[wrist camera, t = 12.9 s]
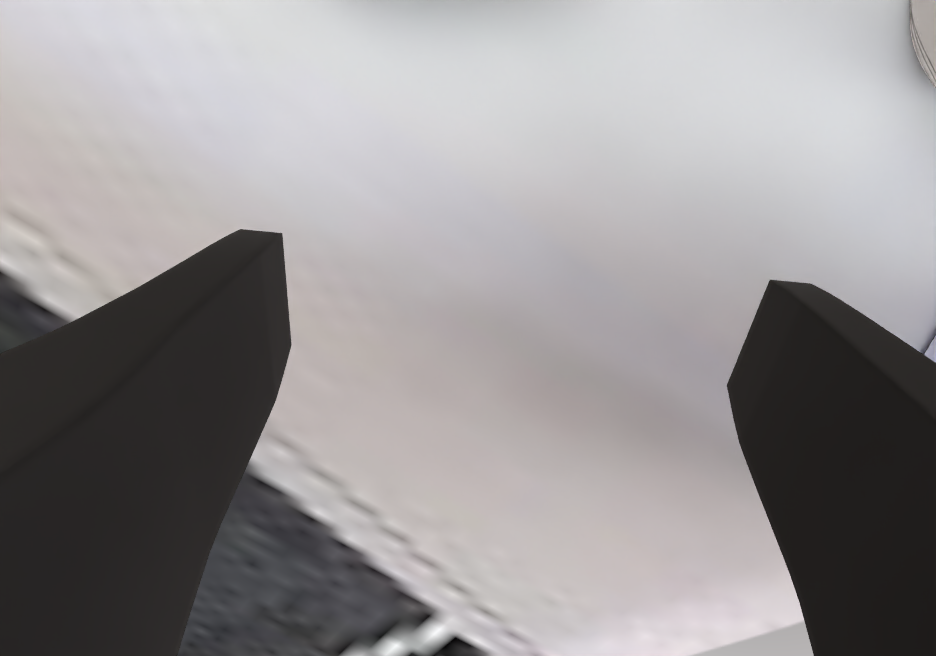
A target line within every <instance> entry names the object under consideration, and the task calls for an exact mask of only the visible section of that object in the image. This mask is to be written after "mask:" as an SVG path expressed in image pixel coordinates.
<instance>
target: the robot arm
mask: <svg viewBox="0 0 936 656" xmlns="http://www.w3.org/2000/svg"><path fill="white" fill-rule="evenodd" d="M290 348H291V335H290V322H289V310H288V298H287V286H286V273H285V261H284V249H283V237H282V233H274V232H264V231H253V230H243V229H240V230H238V231H236V232H234V233H232V234H230V235H228V236H226V237H224V238H222V239H220V240H219V241H217V242H215V243H213V244H212V245H210V246H208V247H206V248H205V249H203V250H201V251H200V252H198V253H196V254H195V255H193V256H191V257H189V258H188V259H186V260H184V261H183V262H181V263H179V264H178V265H176V266H174V267H172V268H171V269H169V270H167V271H166V272H164V273H162V274H160V275H159V276H157V277H155V278H153V279H152V280H150V281H148V282H147V283H145V284H143V285H141V286H140V287H138V288H136V289H134V290H132V291H130V292H128V293H126V294H125V295H123V296H121V297H119V298H117V299H115V300H113V301H111V302H109V303H107V304H105V305H104V306H102V307H100V308H98V309H96V310H94V311H92V312H90V313H88V314H86V315H84V316H83V317H81V318H79V319H77V320H75V321H73V322H71V323H69V324H67V325H64V326H62V327H60V328H58V329H56V330H54V331H52V332H49V333H47V334H45V335H43V336H41V337H38V338H36V339H34V340H31V341H29V342H27V343H24V344H22V345H19V346H17V347H15V348H12V349H10V350H8V351H5V352H3V353H0V656H177V655H178V651H179V648H180V645H181V641H182V638H183V635H184V631H185V628H186V625H187V621H188V618H189V615H190V612H191V609H192V606H193V603H194V599H195V596H196V593H197V590H198V587H199V584H200V581H201V578H202V575H203V572H204V568H205V565H206V562H207V559H208V556H209V553H210V550H211V548H212V545H213V543H214V540H215V538H216V535H217V533H218V530H219V528H220V525H221V523H222V520H223V518H224V516H225V514H226V511H227V509H228V507H229V505H230V503H231V500H232V498H233V496H234V494H235V491H236V489H237V487H238V485H239V482H240V480H241V478H242V476H243V474H244V471H245V469H246V467H247V465H248V462H249V460H250V458H251V456H252V453H253V451H254V449H255V447H256V445H257V442H258V440H259V438H260V435H261V433H262V431H263V429H264V426H265V424H266V422H267V419H268V417H269V415H270V413H271V410H272V408H273V406H274V403H275V401H276V398H277V394H278V391H279V388H280V384H281V381H282V378H283V374H284V370H285V367H286V363H287V359H288V356H289V352H290ZM727 388H728V393H729V398H730V403H731V408H732V414H733V418H734V422H735V427H736V431H737V435H738V439H739V443H740V446H741V449H742V451H743V454H744V457H745V459H746V462H747V465H748V467H749V470H750V473H751V475H752V478H753V481H754V483H755V486H756V488H757V491H758V494H759V496H760V499H761V501H762V504H763V506H764V509H765V511H766V514H767V517H768V519H769V522H770V524H771V527H772V529H773V532H774V534H775V537H776V540H777V542H778V545H779V547H780V550H781V552H782V555H783V557H784V560H785V563H786V565H787V568H788V570H789V573H790V576H791V579H792V582H793V585H794V587H795V590H796V593H797V596H798V599H799V602H800V606H801V609H802V613H803V617H804V620H805V624H806V628H807V632H808V635H809V639H810V642H811V646H812V650H813V654H814V656H936V336H935V337H934V339H933V341H932V342H931V344H930V346H929V347H928V349H927V350H926V352H925V354H924V355H923V354H922V353H920V352H919V351H917V350H916V349H914V348H913V347H911V346H910V345H908V344H907V343H905V342H904V341H902V340H901V339H899V338H898V337H896V336H895V335H893V334H892V333H890V332H889V331H887V330H886V329H884V328H883V327H881V326H880V325H878V324H877V323H875V322H874V321H872V320H871V319H869V318H868V317H866V316H865V315H863V314H862V313H860V312H859V311H857V310H856V309H854V308H852V307H851V306H849V305H848V304H846V303H845V302H843V301H841V300H840V299H838V298H836V297H835V296H833V295H831V294H830V293H828V292H826V291H824V290H822V289H820V288H818V287H816V286H814V285H812V284H808V283H798V282H787V281H777V280H770V281H769V283H768V286H767V288H766V290H765V293H764V295H763V298H762V300H761V303H760V305H759V308H758V310H757V313H756V315H755V318H754V320H753V322H752V325H751V327H750V330H749V332H748V335H747V337H746V340H745V342H744V345H743V347H742V349H741V352H740V354H739V357H738V359H737V362H736V364H735V367H734V369H733V372H732V374H731V376H730V379H729V381H728V384H727Z"/></svg>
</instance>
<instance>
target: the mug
mask: <svg viewBox="0 0 936 656" xmlns="http://www.w3.org/2000/svg"><path fill="white" fill-rule="evenodd" d="M910 31H911V37H912V42H913V46H914V49H915V52H916V55H917V57H918V60H919V62H920V64H921V66H922V68H923V70H924V72H925V73H926V75H927V76H928V78H929V79H930V81H931V83H932V84H933V85H934V87H935V88H936V0H911V3H910Z"/></svg>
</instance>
